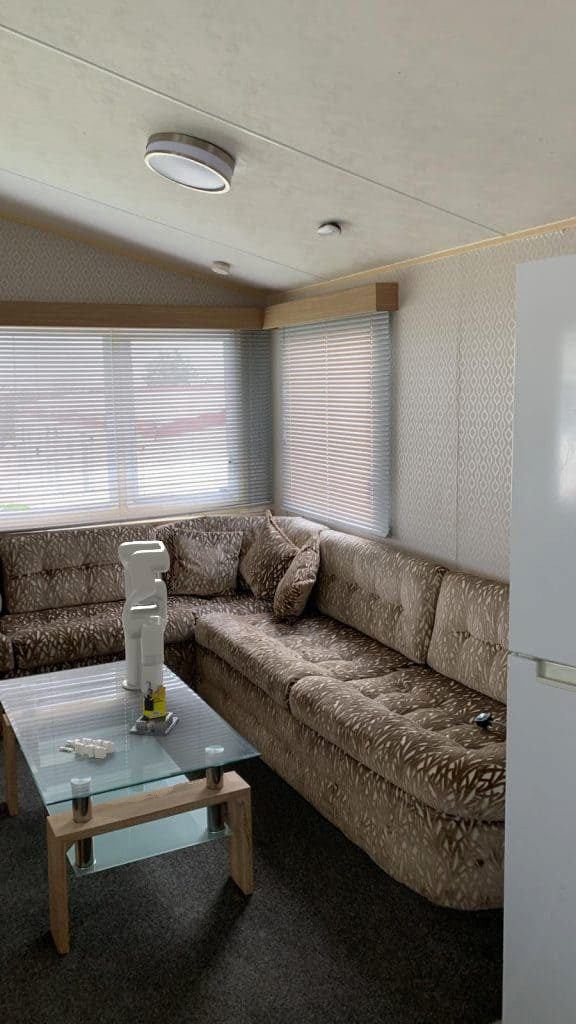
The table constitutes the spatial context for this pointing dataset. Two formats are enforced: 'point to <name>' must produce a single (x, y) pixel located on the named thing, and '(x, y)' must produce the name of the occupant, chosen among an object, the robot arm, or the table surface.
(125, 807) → the table surface
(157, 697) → the supplement box
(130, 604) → the robot arm
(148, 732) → the grey square tray
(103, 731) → the table surface
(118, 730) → the table surface
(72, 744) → the modular blocks
